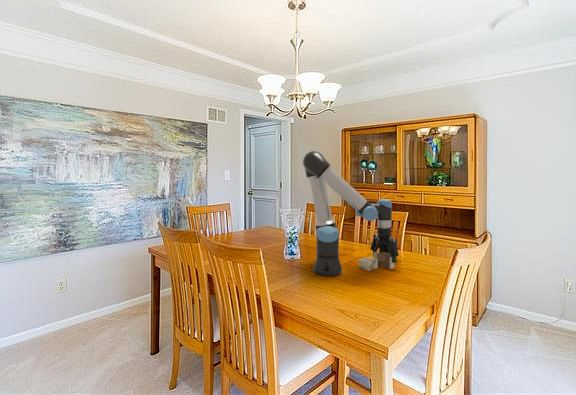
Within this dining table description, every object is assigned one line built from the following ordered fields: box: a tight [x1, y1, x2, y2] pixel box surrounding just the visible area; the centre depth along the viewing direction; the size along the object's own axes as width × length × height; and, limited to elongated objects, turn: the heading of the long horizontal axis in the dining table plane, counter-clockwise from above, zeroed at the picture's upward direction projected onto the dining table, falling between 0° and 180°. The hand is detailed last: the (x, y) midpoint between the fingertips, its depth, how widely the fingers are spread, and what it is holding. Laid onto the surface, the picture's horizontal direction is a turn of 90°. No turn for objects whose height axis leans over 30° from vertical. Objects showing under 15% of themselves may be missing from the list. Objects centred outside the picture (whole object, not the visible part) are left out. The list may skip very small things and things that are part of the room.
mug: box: [378, 239, 398, 262], centre depth 193 cm, size 11×15×12 cm
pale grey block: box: [358, 256, 379, 272], centre depth 178 cm, size 7×7×5 cm
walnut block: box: [377, 252, 390, 269], centre depth 181 cm, size 5×5×7 cm
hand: (383, 265), depth 182 cm, fingers open, 11 cm apart
